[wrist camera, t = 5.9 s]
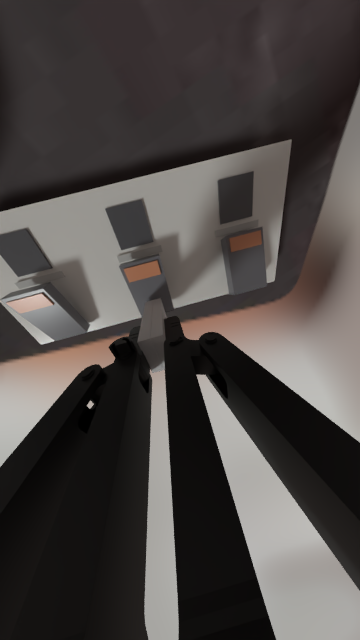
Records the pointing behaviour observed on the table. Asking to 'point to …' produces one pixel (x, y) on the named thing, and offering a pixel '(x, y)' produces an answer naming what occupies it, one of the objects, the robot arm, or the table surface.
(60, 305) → the rocker
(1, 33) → the table surface
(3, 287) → the power strip
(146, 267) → the rocker
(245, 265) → the rocker
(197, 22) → the table surface
